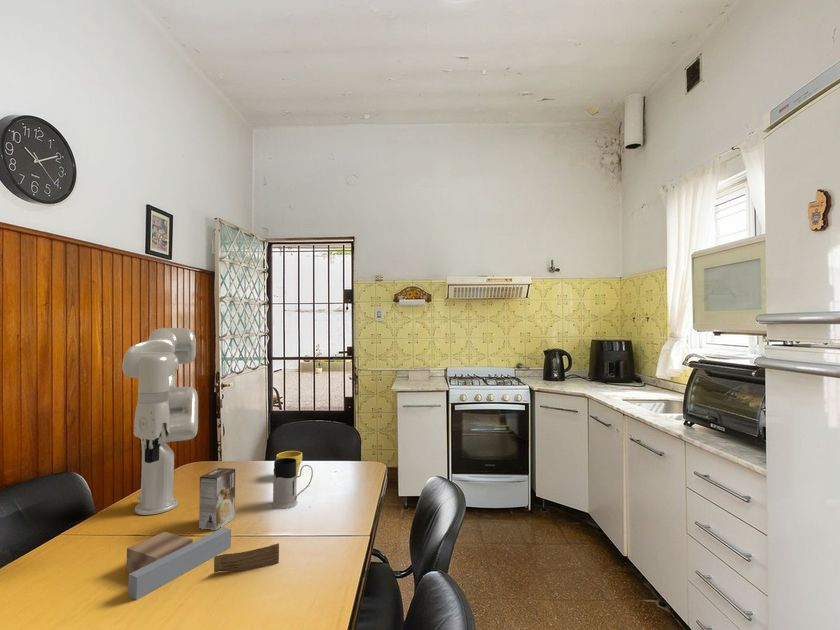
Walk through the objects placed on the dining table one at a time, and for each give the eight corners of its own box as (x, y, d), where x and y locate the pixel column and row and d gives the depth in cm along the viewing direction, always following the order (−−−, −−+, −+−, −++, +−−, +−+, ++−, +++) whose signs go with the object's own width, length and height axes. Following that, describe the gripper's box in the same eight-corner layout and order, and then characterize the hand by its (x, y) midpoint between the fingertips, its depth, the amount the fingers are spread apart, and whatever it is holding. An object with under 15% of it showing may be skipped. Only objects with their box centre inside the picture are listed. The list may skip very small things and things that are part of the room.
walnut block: (126, 572, 107) (127, 548, 107) (164, 553, 116) (164, 531, 117) (154, 583, 103) (155, 557, 103) (192, 562, 112) (192, 539, 112)
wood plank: (278, 560, 113) (278, 541, 113) (278, 564, 111) (279, 545, 111) (214, 573, 107) (214, 553, 107) (213, 577, 105) (214, 557, 105)
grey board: (128, 596, 97) (128, 574, 97) (223, 545, 121) (223, 527, 121) (136, 600, 96) (137, 577, 96) (230, 547, 119) (231, 529, 120)
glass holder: (276, 499, 154) (277, 457, 155) (315, 499, 154) (316, 457, 154) (267, 509, 146) (268, 464, 146) (308, 509, 145) (309, 465, 146)
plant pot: (278, 474, 182) (279, 450, 182) (303, 473, 183) (304, 450, 183) (273, 482, 171) (273, 457, 172) (299, 481, 172) (299, 457, 173)
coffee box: (217, 516, 139) (219, 467, 140) (235, 518, 138) (236, 468, 139) (197, 529, 130) (199, 476, 131) (216, 531, 129) (217, 477, 130)
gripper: (124, 397, 122) (122, 461, 122) (157, 402, 116) (155, 470, 116) (150, 393, 129) (148, 453, 129) (182, 398, 123) (181, 462, 123)
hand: (151, 461), depth 122 cm, fingers closed
